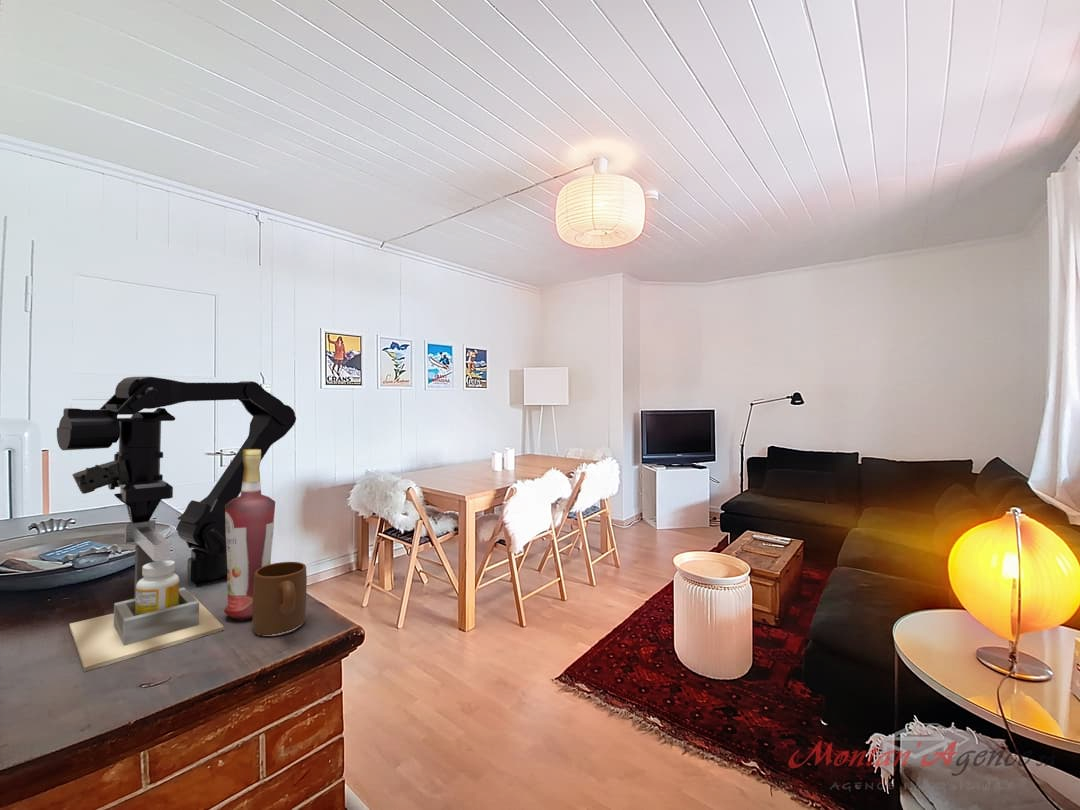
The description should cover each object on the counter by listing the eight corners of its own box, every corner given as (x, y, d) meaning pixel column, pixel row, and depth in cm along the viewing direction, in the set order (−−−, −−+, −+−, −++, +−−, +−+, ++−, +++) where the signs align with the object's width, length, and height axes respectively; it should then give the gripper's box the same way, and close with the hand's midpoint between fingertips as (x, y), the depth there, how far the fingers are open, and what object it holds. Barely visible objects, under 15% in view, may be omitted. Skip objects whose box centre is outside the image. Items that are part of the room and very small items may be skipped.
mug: (316, 641, 73) (318, 579, 73) (259, 656, 68) (261, 590, 68) (300, 612, 82) (301, 558, 82) (249, 624, 78) (250, 566, 78)
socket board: (192, 597, 87) (193, 536, 87) (223, 630, 75) (225, 559, 75) (69, 627, 75) (71, 555, 75) (84, 671, 63) (86, 586, 63)
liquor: (279, 614, 81) (283, 450, 81) (229, 628, 76) (233, 453, 76) (264, 601, 86) (268, 447, 86) (217, 613, 81) (221, 449, 81)
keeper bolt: (154, 537, 86) (154, 519, 86) (178, 559, 75) (178, 539, 75) (124, 542, 83) (125, 523, 83) (145, 565, 72) (146, 544, 72)
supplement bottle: (138, 636, 71) (139, 572, 71) (131, 625, 75) (132, 564, 75) (182, 624, 76) (183, 564, 76) (173, 614, 79) (174, 556, 79)
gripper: (71, 444, 85) (69, 531, 85) (85, 454, 73) (82, 555, 73) (150, 441, 94) (148, 521, 94) (174, 449, 81) (172, 541, 82)
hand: (138, 533), depth 85 cm, fingers closed
